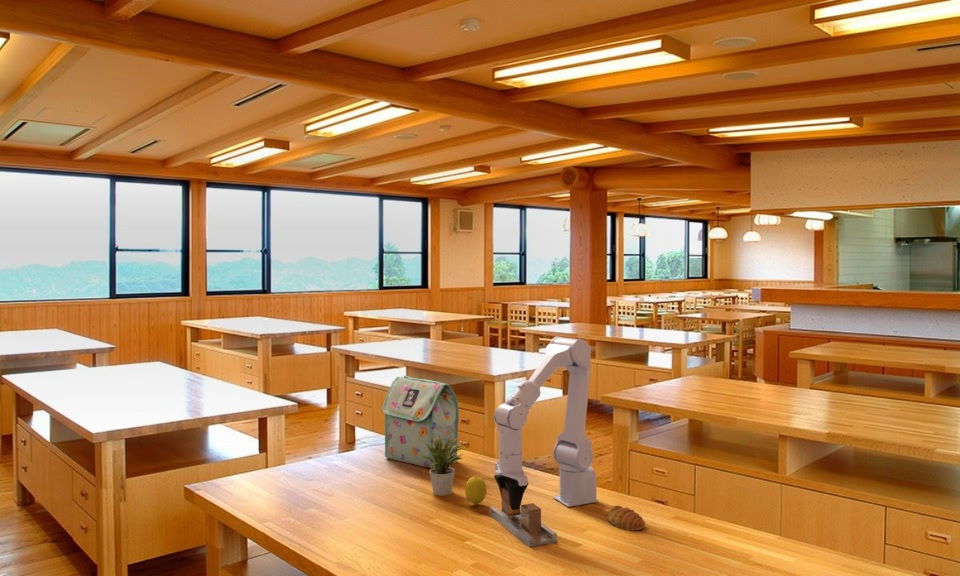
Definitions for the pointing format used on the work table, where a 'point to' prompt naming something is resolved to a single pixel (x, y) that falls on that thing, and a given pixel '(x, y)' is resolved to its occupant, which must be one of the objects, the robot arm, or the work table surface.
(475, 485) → the lemon
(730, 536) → the work table surface
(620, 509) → the pastry
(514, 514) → the brown rectangular block
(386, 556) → the work table surface
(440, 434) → the lunch bag
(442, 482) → the house plant
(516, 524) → the rail
